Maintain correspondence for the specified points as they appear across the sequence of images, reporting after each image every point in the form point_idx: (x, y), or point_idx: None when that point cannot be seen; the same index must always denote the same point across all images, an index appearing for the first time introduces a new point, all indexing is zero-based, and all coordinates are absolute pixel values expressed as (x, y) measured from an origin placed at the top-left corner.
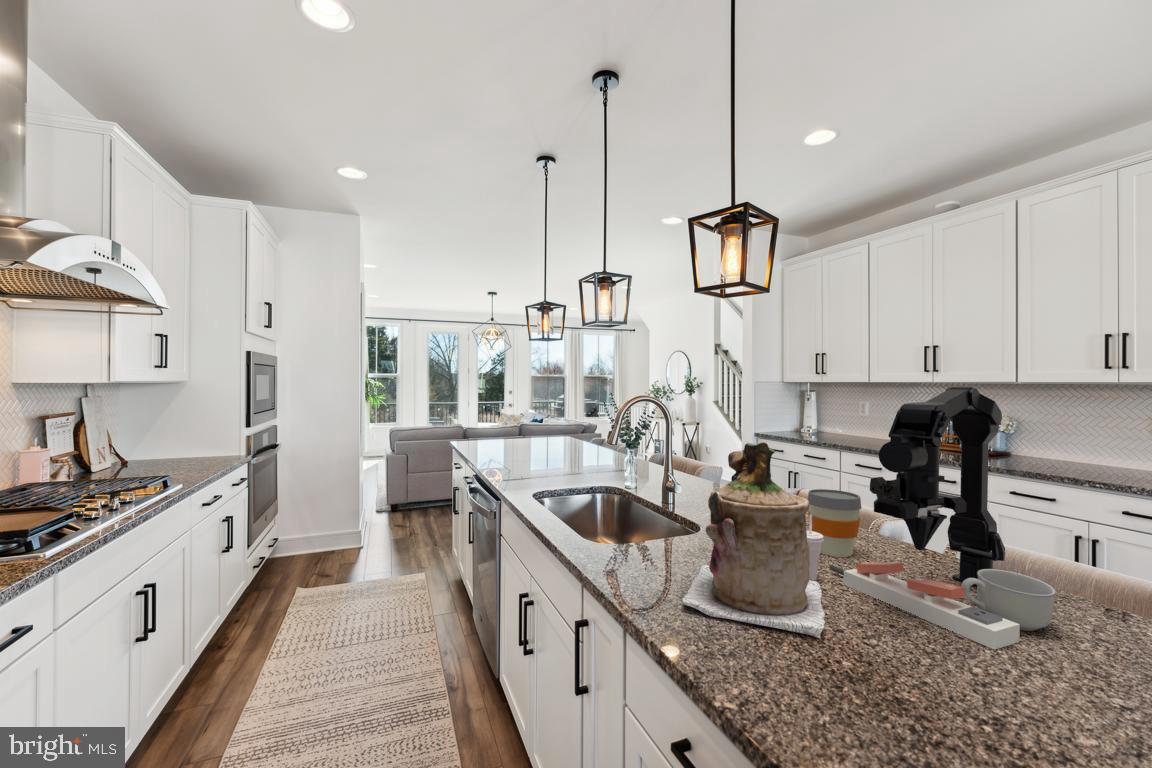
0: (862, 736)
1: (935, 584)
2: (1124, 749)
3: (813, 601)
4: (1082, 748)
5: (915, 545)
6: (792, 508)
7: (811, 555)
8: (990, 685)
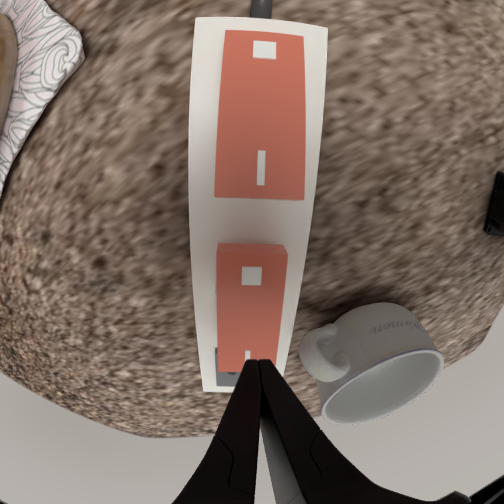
0: None
1: (240, 328)
2: (140, 434)
3: (7, 146)
4: (110, 423)
5: (241, 375)
6: None
7: None
8: (111, 386)
